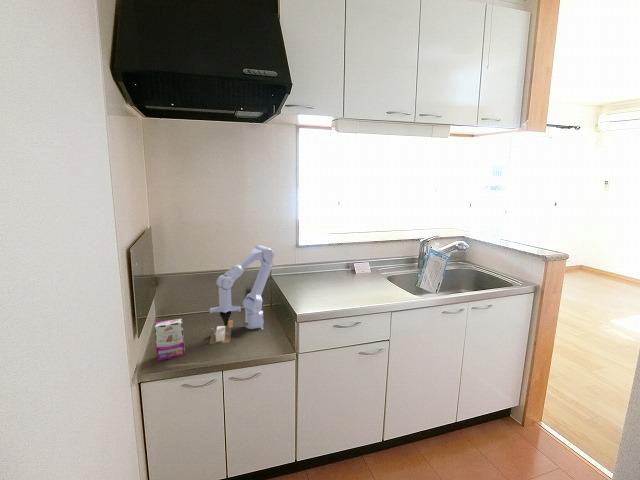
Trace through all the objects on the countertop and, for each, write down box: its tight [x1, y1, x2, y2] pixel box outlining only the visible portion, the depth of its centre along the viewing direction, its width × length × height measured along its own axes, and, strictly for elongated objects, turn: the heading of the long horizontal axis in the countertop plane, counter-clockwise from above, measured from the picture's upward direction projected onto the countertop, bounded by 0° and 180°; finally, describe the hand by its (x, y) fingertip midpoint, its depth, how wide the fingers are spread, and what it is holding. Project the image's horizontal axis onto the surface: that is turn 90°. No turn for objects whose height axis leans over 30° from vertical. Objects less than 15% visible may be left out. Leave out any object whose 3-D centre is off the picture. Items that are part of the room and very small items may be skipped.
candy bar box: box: [154, 318, 186, 362], centre depth 147 cm, size 11×5×16 cm, turn 114°
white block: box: [215, 325, 227, 342], centre depth 164 cm, size 4×8×4 cm, turn 12°
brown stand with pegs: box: [209, 326, 232, 345], centre depth 164 cm, size 10×11×5 cm
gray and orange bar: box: [227, 319, 248, 328], centre depth 167 cm, size 10×2×3 cm, turn 102°
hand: (226, 325), depth 166 cm, fingers closed
